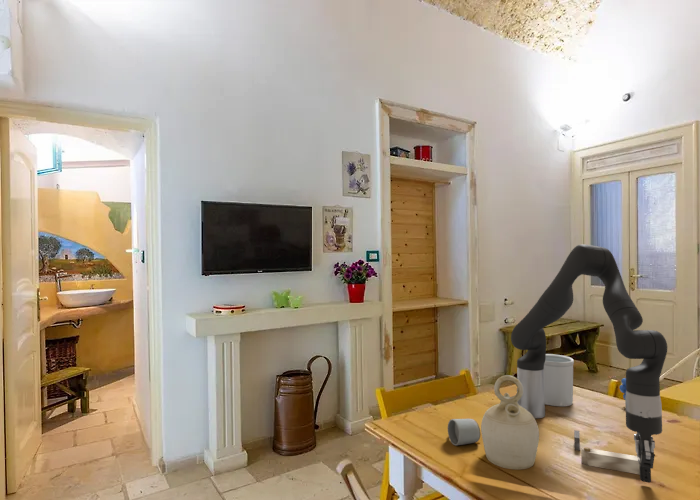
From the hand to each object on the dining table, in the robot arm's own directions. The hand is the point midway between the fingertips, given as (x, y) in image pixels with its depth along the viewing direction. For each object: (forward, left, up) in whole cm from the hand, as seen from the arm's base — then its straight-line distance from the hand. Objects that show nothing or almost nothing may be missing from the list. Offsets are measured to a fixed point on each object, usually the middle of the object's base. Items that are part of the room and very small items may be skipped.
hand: (645, 480), depth 108 cm
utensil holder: (-23, +65, -3) cm, 69 cm away
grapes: (+5, +67, -3) cm, 68 cm away
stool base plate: (-6, +13, -2) cm, 15 cm away
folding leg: (-6, +7, -1) cm, 10 cm away
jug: (-32, +1, -3) cm, 32 cm away
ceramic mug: (-48, +10, -3) cm, 49 cm away
